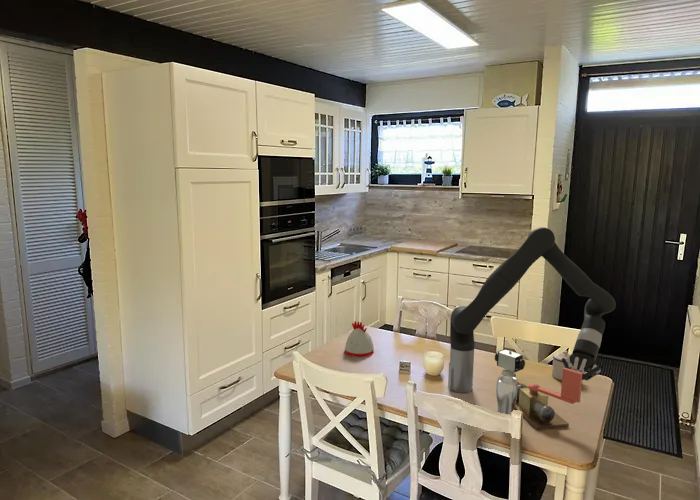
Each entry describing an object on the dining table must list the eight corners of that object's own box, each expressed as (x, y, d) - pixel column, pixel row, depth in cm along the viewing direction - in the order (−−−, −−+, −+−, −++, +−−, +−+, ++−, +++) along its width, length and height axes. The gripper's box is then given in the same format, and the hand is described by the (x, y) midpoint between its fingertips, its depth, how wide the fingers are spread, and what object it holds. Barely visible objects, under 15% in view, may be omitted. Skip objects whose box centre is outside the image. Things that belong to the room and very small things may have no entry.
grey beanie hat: (355, 344, 242) (356, 315, 240) (379, 350, 234) (379, 320, 232) (339, 352, 231) (339, 322, 228) (362, 359, 223) (363, 328, 220)
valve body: (568, 426, 165) (570, 403, 163) (536, 430, 162) (538, 406, 161) (533, 397, 186) (534, 376, 185) (504, 399, 184) (505, 378, 182)
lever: (526, 389, 173) (528, 359, 171) (531, 386, 175) (533, 356, 173) (576, 407, 159) (579, 375, 158) (581, 404, 162) (584, 372, 160)
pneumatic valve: (518, 384, 197) (519, 356, 196) (493, 375, 206) (494, 348, 204) (525, 380, 201) (527, 353, 199) (500, 371, 210) (502, 345, 208)
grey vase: (491, 415, 172) (494, 375, 170) (510, 414, 173) (513, 375, 170) (499, 425, 165) (501, 384, 163) (518, 424, 166) (521, 383, 163)
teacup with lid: (569, 383, 198) (571, 356, 196) (547, 376, 205) (549, 350, 203) (580, 375, 207) (583, 349, 205) (559, 369, 213) (561, 343, 211)
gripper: (566, 334, 172) (551, 377, 165) (606, 343, 163) (592, 389, 156) (570, 344, 176) (555, 387, 169) (609, 353, 167) (596, 399, 161)
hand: (573, 388), depth 163 cm, fingers closed
